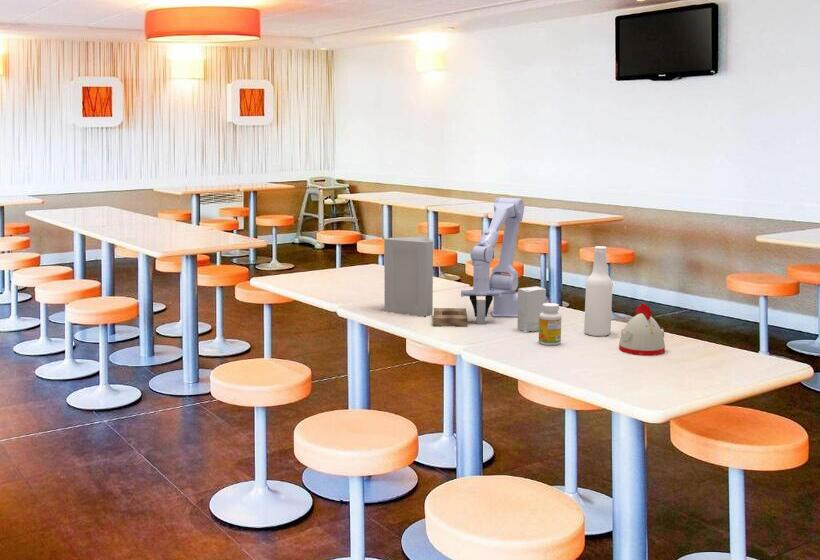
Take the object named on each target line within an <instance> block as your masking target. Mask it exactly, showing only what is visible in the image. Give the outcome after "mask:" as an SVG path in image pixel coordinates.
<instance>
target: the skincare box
mask: <svg viewBox="0 0 820 560" xmlns="http://www.w3.org/2000/svg"><path fill="white" fill-rule="evenodd" d="M517 292H518V317H517V330H519V329H520V330H519V331H521V330H523V331H522V332H524V331H526V332H525V333H530V332H529V331H532V332H539V315H540V313H542V312H543V310H542V305H543V304H544V303H547V289H546V288H543V287H540V286H539V285H538V286H530V287H529V286H527V287H519V288H517Z"/></svg>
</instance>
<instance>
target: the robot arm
mask: <svg viewBox="0 0 820 560" xmlns="http://www.w3.org/2000/svg"><path fill="white" fill-rule="evenodd" d="M524 210H525V204H524V200H523V199H522V198H520V197H517V198H516V197H501V196H499V197H496V199H495V200H494V204H493V211H494V213H493V216H492V219H491V222H490V224H489V227H488V228H486V229H484V231H483V232H482V235H481V236H480V239H479V241H478V242H477V244H476V245H474V246H473V247H472V248H471V250H470V259H471V264H472V267H473V280H472V281H473V285H472V289H469V290H468V289H467V290H466V289H465V290H463V289H462V290H460V297H462V298H463V297H469V300H470V302H471V305H472V307H473V312H474V317H475V318H476V317H477V309H476V307H477V300H478V298H477V297H485V299H484V300H485V302H486V307H485V318H487V317H488V311H489V309H490V306H491V304H492V302H493V306H492V307H493V308H492V309H493V310H492V311H491V314H492V317H495V318H496V317H503V318H505V317H507V318H509V317H513V318H516V317H517V318H518V291H516V290H518V287H519V273H518V271H517V270H516V269H515V268H514V267H513V265H514V258H515V251H516V244H517V239H518V233H519V227H520V223H521V222H522V221H523V219H524V212H525V211H524ZM503 224H505V225H504V231H503V236H502V237H503V238H502V242H501V250H500V254H499V260H498V265H496V266H495V267H494V268H492V269H490V265H491V264H490V263H491V261H492V260H493V257H494V252H495V249H494V247H495V246H496V244H497V241H498V240H499V237H500V235H499V233H498V232H499V231H500V229H501V228H502V226H503ZM490 270H491V273H490Z"/></svg>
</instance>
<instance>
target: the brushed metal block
mask: <svg viewBox="0 0 820 560" xmlns="http://www.w3.org/2000/svg"><path fill="white" fill-rule="evenodd" d="M485 307H486V302H485V299H477V307H476V309H477V317H475V319H476V320H475V321H476V322H475V323H476V325H486V317H485Z"/></svg>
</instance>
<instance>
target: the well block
mask: <svg viewBox="0 0 820 560" xmlns="http://www.w3.org/2000/svg"><path fill="white" fill-rule="evenodd" d="M468 324H469V323H468V312H467V308H466V307H465V308H463V307H460V308H459V307H456V308H455V307H451V308H449V307H433V327H441V326H455V327H454V328H456V327H459V328H461V327H463V328H465V327H466V328H468Z"/></svg>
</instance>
